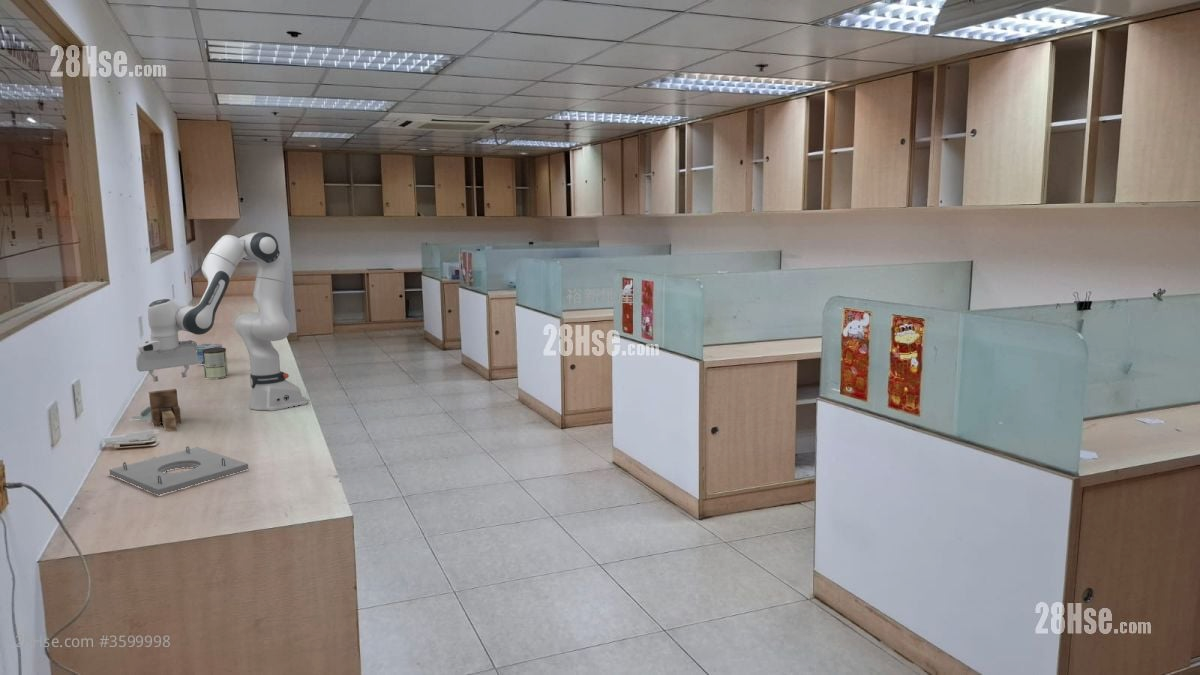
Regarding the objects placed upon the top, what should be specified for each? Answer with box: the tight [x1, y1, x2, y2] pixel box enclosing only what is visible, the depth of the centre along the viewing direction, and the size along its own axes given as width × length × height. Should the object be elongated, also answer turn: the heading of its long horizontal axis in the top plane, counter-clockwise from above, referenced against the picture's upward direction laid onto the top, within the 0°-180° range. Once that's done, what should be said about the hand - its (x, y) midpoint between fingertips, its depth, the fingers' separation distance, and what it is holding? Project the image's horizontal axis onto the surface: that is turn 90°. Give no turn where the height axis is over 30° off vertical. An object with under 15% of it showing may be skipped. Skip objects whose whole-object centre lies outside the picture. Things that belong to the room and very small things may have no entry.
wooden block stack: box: [148, 388, 182, 427], centre depth 285 cm, size 9×8×12 cm
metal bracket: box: [131, 404, 180, 422], centre depth 294 cm, size 14×6×15 cm
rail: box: [161, 408, 177, 432], centre depth 280 cm, size 3×13×6 cm, turn 36°
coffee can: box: [202, 347, 229, 380], centre depth 364 cm, size 10×10×14 cm
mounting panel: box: [108, 446, 249, 495], centre depth 230 cm, size 27×5×30 cm
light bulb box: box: [196, 343, 223, 365], centre depth 396 cm, size 11×7×11 cm, turn 81°
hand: (170, 379), depth 281 cm, fingers open, 8 cm apart
